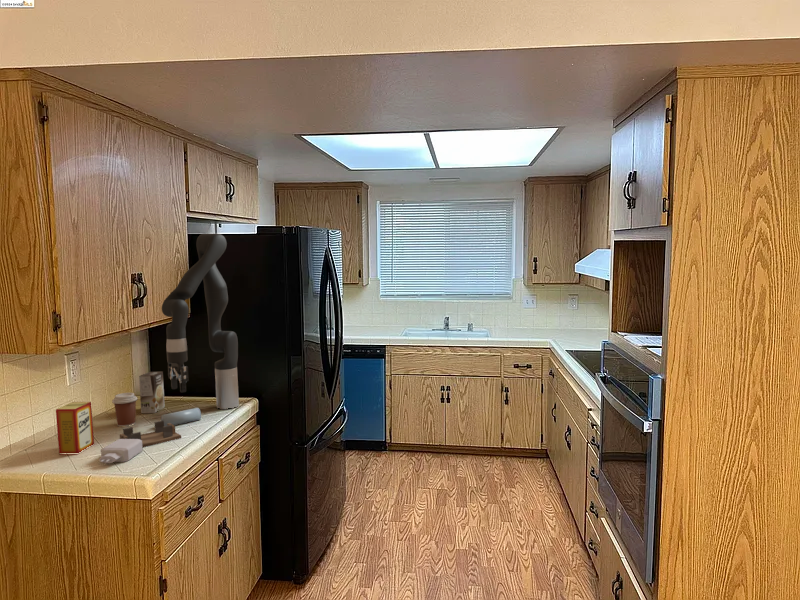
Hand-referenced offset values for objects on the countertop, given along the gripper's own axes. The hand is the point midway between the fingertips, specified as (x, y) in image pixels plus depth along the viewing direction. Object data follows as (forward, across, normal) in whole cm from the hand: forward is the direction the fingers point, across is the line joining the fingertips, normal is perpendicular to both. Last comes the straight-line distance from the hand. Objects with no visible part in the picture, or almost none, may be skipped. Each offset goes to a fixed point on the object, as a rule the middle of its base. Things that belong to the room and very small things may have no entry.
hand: (178, 390), depth 226 cm
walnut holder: (+14, -13, +17) cm, 25 cm away
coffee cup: (+13, +14, +16) cm, 25 cm away
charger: (+14, -25, +31) cm, 42 cm away
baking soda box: (+14, -3, +38) cm, 40 cm away
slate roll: (+13, 0, 0) cm, 13 cm away
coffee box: (+13, +27, 0) cm, 30 cm away
